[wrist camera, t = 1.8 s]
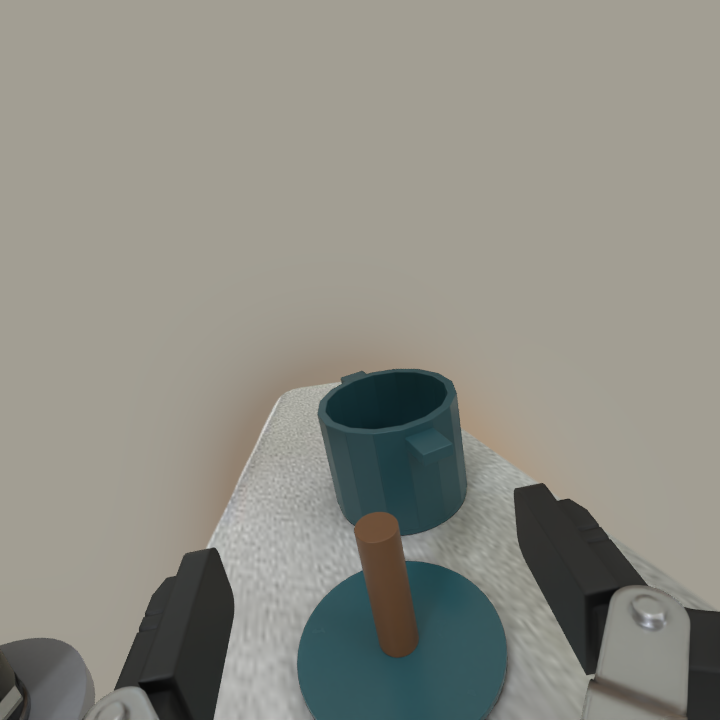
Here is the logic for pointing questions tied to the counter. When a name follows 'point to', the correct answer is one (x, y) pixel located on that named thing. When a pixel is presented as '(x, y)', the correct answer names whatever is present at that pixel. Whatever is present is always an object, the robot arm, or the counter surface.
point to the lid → (401, 640)
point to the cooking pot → (395, 447)
